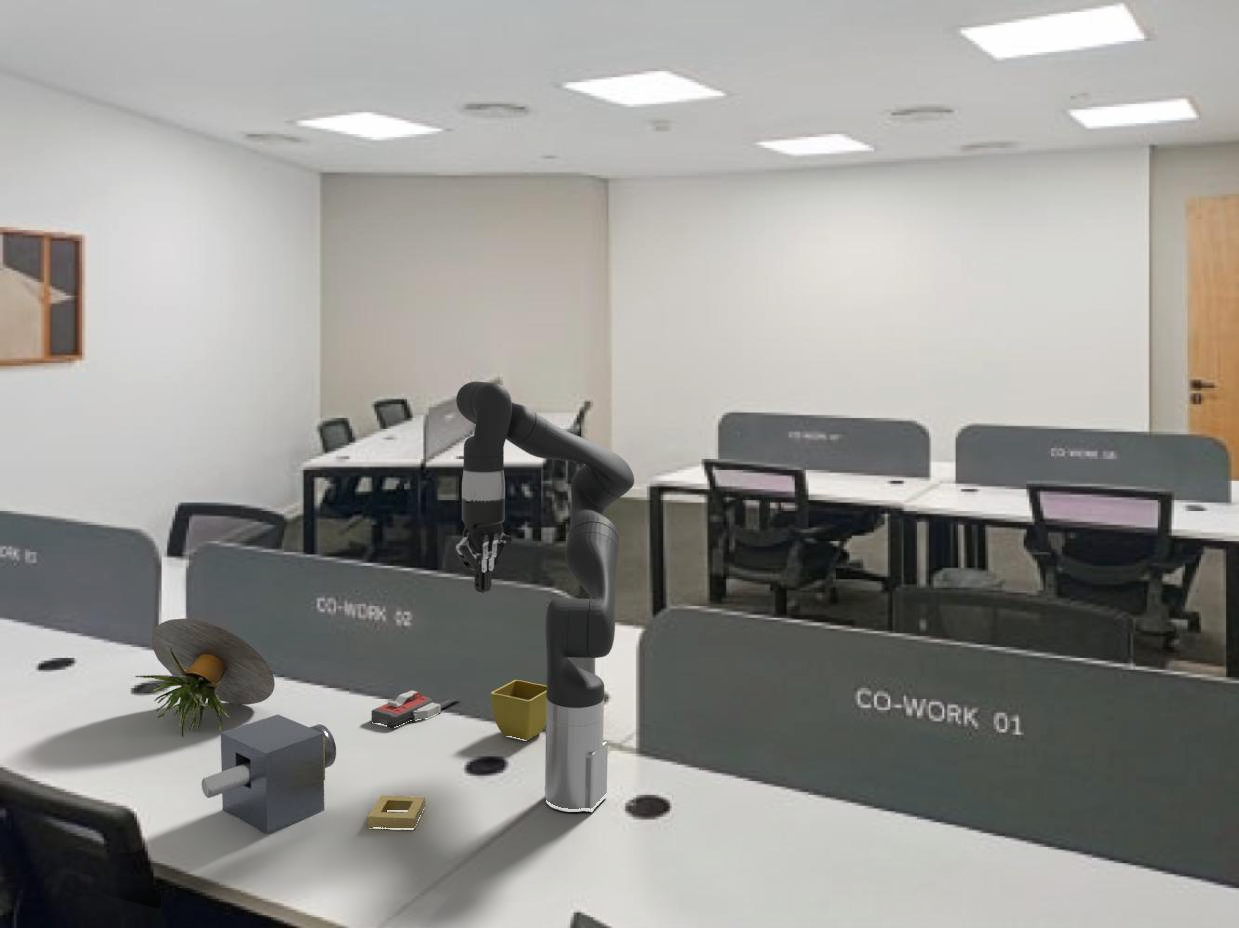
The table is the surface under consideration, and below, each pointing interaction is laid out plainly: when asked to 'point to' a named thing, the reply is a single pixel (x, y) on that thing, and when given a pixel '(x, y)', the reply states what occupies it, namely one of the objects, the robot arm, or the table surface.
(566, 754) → the robot arm
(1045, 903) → the table surface
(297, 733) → the bearing block
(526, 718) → the flower pot
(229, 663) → the potted plant
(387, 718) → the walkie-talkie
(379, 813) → the frame
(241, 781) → the shaft
